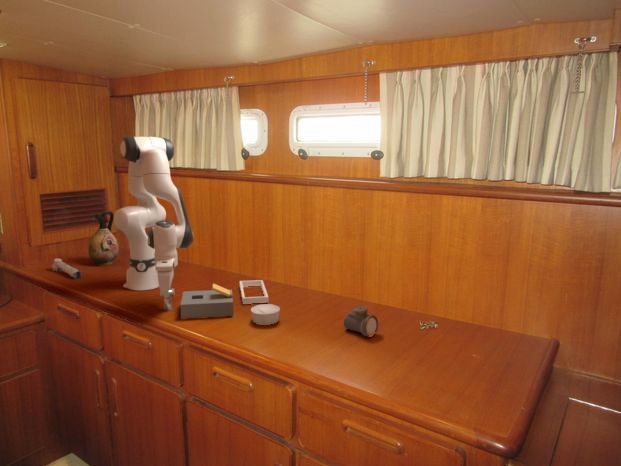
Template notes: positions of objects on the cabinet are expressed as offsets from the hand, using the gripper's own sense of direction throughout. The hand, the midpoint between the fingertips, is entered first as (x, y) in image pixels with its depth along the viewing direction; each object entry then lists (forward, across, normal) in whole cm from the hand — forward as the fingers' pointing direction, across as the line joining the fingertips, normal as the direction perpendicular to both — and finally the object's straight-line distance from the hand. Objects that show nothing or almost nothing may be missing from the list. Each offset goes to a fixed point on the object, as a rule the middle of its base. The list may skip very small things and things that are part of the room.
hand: (167, 294), depth 181 cm
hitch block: (+7, +4, +16) cm, 18 cm away
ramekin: (+7, +19, +38) cm, 43 cm away
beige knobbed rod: (+7, -60, -56) cm, 83 cm away
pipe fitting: (+7, +35, +71) cm, 79 cm away
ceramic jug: (+7, -79, -41) cm, 89 cm away
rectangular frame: (+7, -13, +36) cm, 39 cm away
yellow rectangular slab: (-1, +4, +22) cm, 22 cm away
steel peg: (+7, 0, 0) cm, 7 cm away
